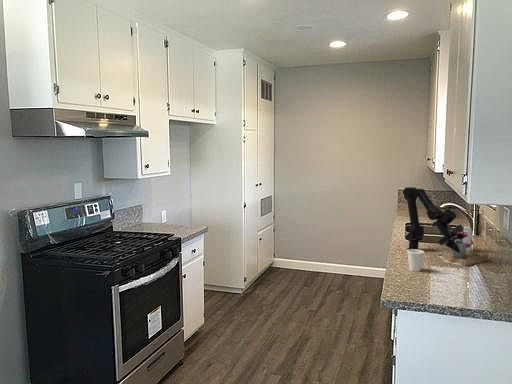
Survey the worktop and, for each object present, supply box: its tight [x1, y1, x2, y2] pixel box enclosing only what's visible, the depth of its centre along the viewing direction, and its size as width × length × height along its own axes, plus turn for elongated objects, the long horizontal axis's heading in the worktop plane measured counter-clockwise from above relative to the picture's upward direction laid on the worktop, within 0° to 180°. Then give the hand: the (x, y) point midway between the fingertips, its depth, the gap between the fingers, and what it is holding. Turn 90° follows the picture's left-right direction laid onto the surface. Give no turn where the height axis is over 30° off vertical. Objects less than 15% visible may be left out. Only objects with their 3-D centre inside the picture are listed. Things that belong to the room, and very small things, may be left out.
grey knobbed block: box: [452, 239, 466, 259], centre depth 236 cm, size 4×4×12 cm
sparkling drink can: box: [458, 225, 473, 252], centre depth 264 cm, size 8×8×15 cm
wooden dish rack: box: [440, 251, 489, 267], centre depth 240 cm, size 14×24×5 cm, turn 125°
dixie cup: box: [406, 249, 425, 272], centre depth 223 cm, size 8×8×10 cm
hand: (461, 251), depth 235 cm, fingers closed on grey knobbed block, 4 cm apart
